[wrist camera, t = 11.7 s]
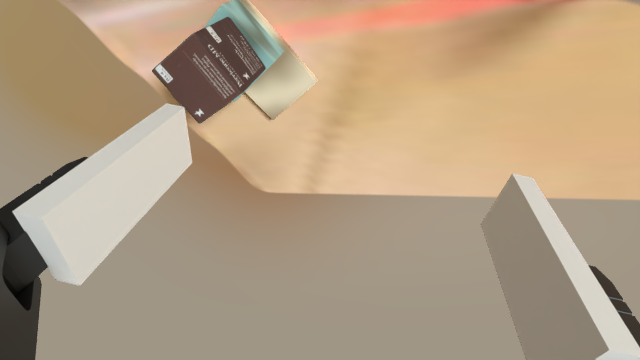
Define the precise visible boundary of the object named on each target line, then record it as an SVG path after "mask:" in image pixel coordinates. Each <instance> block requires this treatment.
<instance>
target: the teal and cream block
mask: <svg viewBox="0 0 640 360" xmlns="http://www.w3.org/2000/svg"><path fill="white" fill-rule="evenodd" d="M226 17H230V18H231V19H232V21H233V22H234V24H235V25H236V26H237V28H238V29H239V30H240V32H241V33H242V34H243V36H244V37H245V38H246V40H247V41H248V42H249V44H250V45H251V47H252V48H253V49H254V51H255V52H256V54H257V55H258V57H259V58H260V60H261V61H262V62H263V64H264V65H265V68H266V69H265V70H264V72H262V73H261V75H260V76H259V77H258V78H257V79H256V80H255V81H254V82H253V83H252V84H251V85H250V86H249V87H248V88H247V89H246V90H245V91H244V92H245V93H246V94H247V95H248V96H249V97H250V98H251V99H252V100H253V101H254V102H255V103H256V104H257V105H258V106H259V107H260V108H261V109H262V110H263V111H264V112H265V113H266V114H267V115H268V116H269V117H270V118H271V119H272V120H274V119H275V118H276V117H277V116H278V115H280V114H281V113H282V112H283V111H284V110H285V109H287V108H288V107H289V106H290V105H291V104H292V103H294V102H295V101H296V100H297V99H298V98H299V97H300V96H302V95H303V94H304V93H305V92H306V91H307V90H309V89H310V88H311V87H312V86H313V85H314V84H316V83H317V81H318V79H317V77H316V76H315V75H314V74H313V73H312V72H311V70H310V69H309V68H308V67H307V66H306V65H305V64H304V62H303V61H302V60H301V59H300V58H299V57H298V56H297V54H296V53H295V52H294V51H293V50H292V49H291V48H290V46H289V45H288V44H287V43H286V42H285V41H284V39H283V38H282V37H281V36H280V35H279V34H278V33H277V31H276V30H275V29H274V28H273V27H272V26H271V25H270V23H269V22H268V21H267V20H266V19H265V18H264V16H263V15H262V14H261V13H260V12H259V11H258V10H257V8H256V7H255V6H254V5H253V4H252V3H251V2H250V0H233V1H230V2H228V3H225V4H223V5H221V7H220V8H219V9H218V11H217V12H216V13H215V14H214V16H213V17H212V18H211V20H210V21H209V22H208V24H207V25H206V26H205V28H206V27H208V26H210V25H212V24H214V23H216V22H218V21H220V20H222V19H224V18H226ZM244 92H243V93H244ZM243 93H242V94H243ZM242 94H241V95H242ZM241 95H239V96H238V97H236V98H235V99H234V100H233V101H234V102H235V101H236V100H237V99H238V98H239V97H240V96H241Z"/></svg>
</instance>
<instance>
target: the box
mask: <svg viewBox="0 0 640 360" xmlns="http://www.w3.org/2000/svg"><path fill="white" fill-rule="evenodd" d="M265 69H266V68H265V65H264V64H263V62H262V61H261V60H260V58H259V57H258V55H257V54H256V52H255V51H254V49H253V48H252V47H251V45H250V44H249V42H248V41H247V40H246V38H245V37H244V36H243V34H242V33H241V32H240V30H239V29H238V28H237V26H236V25H235V24H234V22H233V21H232V19H231V18H230V17H226V18H224V19H222V20H220V21H218V22H216V23H214V24H212V25H210V26H208V27H206V28H203V29H201V30H199V31H197V32H195V33H193V34H192V35H191V36H189V37H188V38H187V39H186V40H185V41H184V42H183V43H182V44H181V45H180V46H178V47H177V48H176V49H175V50H174V51H173V52H172V53H171V54H170V55H168V56H167V57H166V58H165V59H164V60H163V61H162V62H161V63H159V64H158V65H157V66H156V67H155V68H154V69H153V70H152V72H153V73H154V74H155V75H156V76H157V78H158V79H159V80H160V81H161V82H162V83H163V84H164V85H165V86H166V87H167V88H168V90H169V91H170V92H171V94H172V95H173V97H174V98H175V99H176V100H177V101H178V102H179V103H180V104H181V105H182V106H184V107H185V108H186V109H187V111H188V112H189V113H190V114H191V115H192V116H193V117H194V119H195V120H196V121H197V122H198V123H202V122H203V121H205V120H206V119H207V118H209V117H210V116H211V115H213V114H214V113H216V112H217V111H219V110H220V109H222V108H223V107H224V106H226V105H227V104H228V103H230V102H231V101H232V100H234V99H235V98H236V97H238V96H239V95H241V94H242V93H243V92H244V91H245V90H246V89H247V88H248V87H249V86H250V85H251V84H252V83H253V82H254V81H255V80H256V79H257V78H258V77H259V76H260V75H261V73H262V72H264V70H265Z"/></svg>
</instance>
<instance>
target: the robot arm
mask: <svg viewBox="0 0 640 360" xmlns="http://www.w3.org/2000/svg"><path fill="white" fill-rule="evenodd" d="M191 163H192V157H191V150H190V144H189V136H188V129H187V122H186V114H185V107H182V106H177V105H172V104H167V103H166V104H165V105H164V106H162V107H161V108H159V109H158V110H157V111H155V112H153V113H152V114H151V115H149V116H148V117H146V118H145V119H143V120H142V121H141V122H139V123H138V124H137V125H135V126H133V127H132V128H131V129H129V130H128V131H126V132H125V133H124V134H122V135H121V136H119V137H118V138H117V139H115V140H114V141H112V142H111V143H109V144H108V145H106V146H105V147H103V148H102V149H101V150H99V151H98V152H96V153H95V154H93V155H92V156H91V157H89V158H88V157H83V158H81V159H78V160H76V161H73V162H71V163H68V164H66V165H65V166H63V167H62V168H60V169H59V170H57V171H56V172H54V173H53V175H52V176H48V177H47V178H45V179H44V180H42V181H41V184H36V185H35V186H33V187H32V188H31V189H29V190H27V191H26V192H24V193H23V194H21V195H20V196H18V197H17V198H15V199H14V200H12V201H11V202H10V203H8V204H7V205H5V206H3V207H2V208H1V209H0V360H35V354H36V343H37V331H38V320H39V307H40V296H41V285H42V284H41V280H40V278H39V277H38V276H39V275H40V274H41V273H42V272H43V270H45V269H46V268H47V267H48V269H49V270H50V272H51V273H52V275H53V277H54V278H55V280H59V281H63V282H67V283H71V284H75V285H79V286H80V285H81V284H82V283H83V282H84V281H85V280H86V278H87V277H88V276H89V275H90V274H91V273H92V272H93V271H94V270H95V268H96V267H97V266H98V265H99V264H100V263H101V262H102V261H103V260H104V259H105V258H106V256H107V255H108V254H109V253H110V252H111V251H112V250H113V249H114V248H115V247H116V246H117V244H118V243H119V242H120V241H121V240H122V239H123V238H124V237H125V236H126V235H127V233H128V232H129V231H130V230H131V229H132V228H133V227H134V226H135V225H136V224H137V223H138V221H139V220H140V219H141V218H142V217H143V216H144V215H145V214H146V213H147V212H148V211H149V209H150V208H151V207H152V206H153V205H154V204H155V203H156V201H158V200H159V198H160V197H161V196H162V195H163V194H164V193H165V192H166V191H167V190H168V189H169V188H170V187H171V185H172V184H173V183H174V182H175V181H176V180H177V179H178V178H179V177H180V176H181V174H182V173H183V172H184V171H185V170H186V169H187V168H188V167H189V166H190V165H191ZM481 227H482V230H483V233H484V236H485V239H486V242H487V245H488V248H489V251H490V254H491V257H492V260H493V263H494V266H495V268H496V272H497V275H498V278H499V281H500V284H501V287H502V290H503V292H504V295H505V298H506V301H507V304H508V308H509V310H510V313H511V317H512V319H513V323H514V325H515V329H516V332H517V334H518V337H519V340H520V343H521V346H522V349H523V352H524V355H525V358H526V360H640V324H639V322H638V321H637V319H636V318H635V316H632V312H631V310H630V309H629V307H628V306H627V304H626V303H625V302H623V301H622V300H623V298H622V297H621V295H620V294H619V292H618V291H617V290H616V288H615V286H614V285H613V284H612V282H611V281H610V280H609V279H608V278H606V276H605V275H604V274H602V273H601V272H600V271H599V270H598V269H597V268H596V267H593V266H589V265H587V263H586V261H585V260H584V258H583V257H582V255H581V254H580V252H579V250H578V249H577V247H576V246H575V244H574V242H573V241H572V239H571V238H570V236H569V234H568V233H567V231H566V230H565V228H564V226H563V225H562V223H561V222H560V220H559V219H558V217H557V215H556V214H555V212H554V211H553V209H552V207H551V206H550V204H549V203H548V201H547V200H546V198H545V196H544V195H543V193H542V192H541V190H540V188H539V187H538V185H537V184H536V182H535V180H534V179H533V178H531V177H527V176H522V175H517V174H512V175H511V177H510V178H509V180H508V181H507V183H506V185H505V186H504V188H503V189H502V191H501V193H500V194H499V196H498V197H497V199H496V201H495V202H494V204H493V206H492V207H491V209H490V210H489V212H488V213H487V215H486V217H485V218H484V220H483V221H482V223H481Z"/></svg>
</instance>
